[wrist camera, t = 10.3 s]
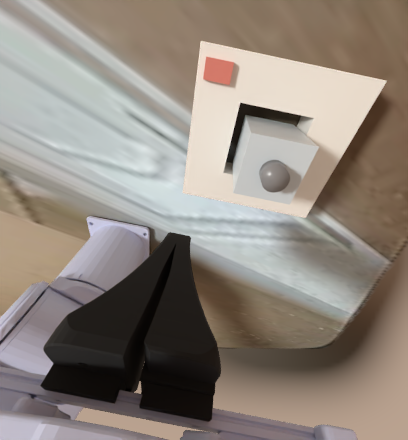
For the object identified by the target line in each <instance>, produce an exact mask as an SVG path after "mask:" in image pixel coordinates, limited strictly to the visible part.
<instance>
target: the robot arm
mask: <svg viewBox="0 0 408 440" xmlns="http://www.w3.org/2000/svg"><path fill="white" fill-rule="evenodd" d="M87 223H88V227H89V231H90V236H91V237H90V239H89V240H88V241H87V242H86V243H85V244H84V246H83V247H82V248H81V249H80V250H79V252H78V253H77V254H76V255H75V256H74V257H73V259H72V260H71V261H70V262H69V263H68V265H67V266H66V267H65V268H64V269H63V271H62V272H61V273H60V274H59V275H58V276H57V278H56V279H55V280H54V281H53V282H52V283H51V284H50V285H49V286H48V287H47V285H48V284H49V283H47V282H45V281H41V282H40V283H34V284H32V285H31V286H30V287H29V288H28V289H27V290H26V291H25V292H24V293H23V294H22V295H21V296H20V297H19V298H18V299H17V301H16V302H15V303H14V304H13V305H12V306H11V307H10V308H9V309H8V310H7V311H6V312H5V313H4V314H3V316H2V317H1V318H0V440H167V439H163V438H159V437H154V436H150V435H146V434H141V433H137V432H133V431H128V430H123V429H119V428H114V427H109V426H103V425H98V424H93V423H87V422H81V421H75V419H76V417H77V415H78V414H79V412H80V411H81V410H82V409H83V408H84V407H85V408H90V409H95V410H100V411H105V412H110V413H116V414H121V415H126V416H131V417H136V418H142V419H146V420H152V421H157V422H162V423H167V424H173V425H177V426H182V427H188V428H193V429H198V430H204V431H208V432H204V431H203V432H202V431H190V430H185V431H184V432H183V437H181V438H180V440H358V439H357V437H356V433H355V432H354V431H353V430H351V429H346V428H341V427H336V426H331V425H318V426H315V427H314V428H312V427H306V426H302V425H297V424H292V423H286V422H281V421H276V420H271V419H266V418H261V417H256V416H251V415H245V414H240V413H235V412H230V411H224V410H219V409H215V408H213V395H214V393H215V382H216V381H217V379H218V378H219V377H220V374H221V364H220V357H219V352H218V347H217V342H216V340H215V338H214V336H213V334H212V332H211V329H210V327H209V325H208V322H207V320H206V317H205V315H204V312H203V309H202V306H201V303H200V301H199V297H198V294H197V290H196V287H195V283H194V278H193V273H192V267H191V259H190V240H191V238H190V236H185V235H180V234H176V233H171V232H170V233H168V234H167V236H166V237H165V239H164V240H163V241H162V242H161V244H160V245H159V246H158V247H157V248H156V249H155V250H154V252H153V253H152V254H151V255H150V256H149V242H150V230H149V228H147V227H143V226H138V225H133V224H128V223H123V222H118V221H113V220H108V219H103V218H98V217H93V216H89V217H88V218H87ZM145 233H146V234H145ZM144 361H145V362H144ZM143 365H144V366H143ZM142 368H143V369H142ZM139 381H141V388H142V392H141V394H138V393H134V392H135V391H136V390H137V388H138V384H139ZM212 432H213V433H212ZM216 433H218V434H216Z"/></svg>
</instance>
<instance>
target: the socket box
mask: <svg viewBox="0 0 408 440" xmlns="http://www.w3.org/2000/svg"><path fill="white" fill-rule="evenodd" d="M386 82H387V81H385V80H380V79H376V78H371V77H367V76H362V75H357V74H353V73H348V72H343V71H339V70H334V69H329V68H325V67H320V66H315V65H311V64H306V63H301V62H297V61H292V60H287V59H283V58H278V57H274V56H269V55H264V54H260V53H255V52H250V51H246V50H241V49H236V48H232V47H227V46H222V45H218V44H213V43H208V42H204V41H201V44H200V52H199V61H198V69H197V77H196V86H195V94H194V103H193V111H192V119H191V128H190V136H189V144H188V153H187V161H186V169H185V178H184V186H183V193H185V194H190V195H195V196H200V197H205V198H210V199H215V200H220V201H225V202H230V203H234V204H239V205H244V206H249V207H254V208H259V209H264V210H269V211H274V212H279V213H284V214H289V215H293V216H298V217H303V218H306V216H307V214H308V213H309V211H310V209H311V208H312V206H313V204H314V203H315V201H316V199H317V198H318V196H319V194H320V192H321V191H322V189H323V187H324V186H325V184H326V182H327V181H328V179H329V177H330V176H331V174H332V172H333V171H334V169H335V167H336V166H337V164H338V162H339V161H340V159H341V157H342V156H343V154H344V152H345V150H346V149H347V147H348V145H349V144H350V142H351V140H352V139H353V137H354V135H355V134H356V132H357V130H358V129H359V127H360V125H361V124H362V122H363V120H364V119H365V117H366V115H367V114H368V112H369V110H370V108H371V107H372V105H373V103H374V102H375V100H376V98H377V97H378V95H379V93H380V92H381V90H382V88H383V87H384V85H385V83H386ZM240 103H245V104H249V105H254V106H259V107H263V108H268V109H273V110H278V111H282V112H287V113H292V114H297V115H301V118H300V120H299V123H298V125H297V128H298V129H299V130H300V131H301V132H302V133H304V134H305V135H306V136H307V137H308V138H309V139H310V140H312V141H313V142H314V143H315V144H316V145H317V146H319V148H318V150H317V152H316V154H315V156H314V158H313V160H312V162H311V164H310V166H309V168H308V170H307V172H306V174H305V176H304V178H303V180H302V182H301V183H300V185H299V187H298V189H297V191H296V193H295V195H294V197H293V199H292V201H291V203H290V205H289V204H284V203H279V202H274V201H269V200H264V199H260V198H255V197H250V196H245V195H240V194H235V193H233V163H230V162H226V159H227V155H228V151H229V147H230V143H231V139H232V135H233V131H234V126H235V122H236V118H237V114H238V110H239V106H240Z"/></svg>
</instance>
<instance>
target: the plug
mask: <svg viewBox="0 0 408 440" xmlns="http://www.w3.org/2000/svg"><path fill="white" fill-rule="evenodd" d="M318 148H319V146H317V145H316V144H315V143H314V142H313V141H312V140H310V139H309V138H308V137H307V136H306V135H305V134H304V133H302V132H301V131H300V130H299V129H298V128H297V127H295V126H294V125H293V124H288V123H283V122H278V121H274V120H269V119H264V118H259V117H255V116H250V115H245V117H244V121H243V125H242V129H241V132H240V136H239V140H238V144H237V147H236V151H235V155H234V159H233V193H235V194H240V195H245V196H250V197H255V198H260V199H264V200H269V201H274V202H279V203H284V204H289V205H290V203H291V201H292V199H293V197H294V195H295V193H296V191H297V189H298V187H299V185H300V183H301V182H302V180H303V178H304V176H305V174H306V172H307V170H308V168H309V166H310V164H311V162H312V160H313V158H314V156H315V154H316V152H317V150H318Z"/></svg>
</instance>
